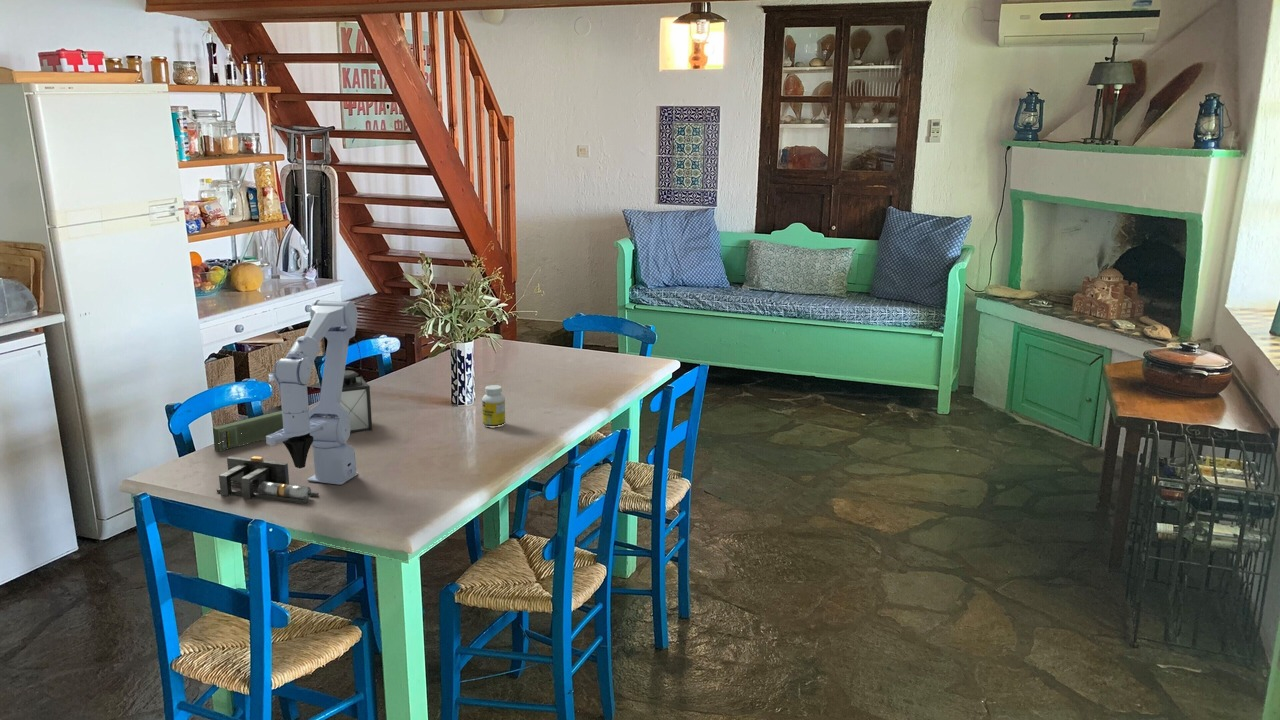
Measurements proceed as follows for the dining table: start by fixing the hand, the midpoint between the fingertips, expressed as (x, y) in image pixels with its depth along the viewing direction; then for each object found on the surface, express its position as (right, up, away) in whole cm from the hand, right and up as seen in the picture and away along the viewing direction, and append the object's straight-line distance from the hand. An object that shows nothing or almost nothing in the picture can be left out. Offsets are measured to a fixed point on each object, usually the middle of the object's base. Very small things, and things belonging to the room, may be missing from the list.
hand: (299, 466), depth 216 cm
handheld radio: (-27, +2, +44) cm, 52 cm away
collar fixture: (-11, -7, +7) cm, 14 cm away
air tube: (-5, -7, +5) cm, 10 cm away
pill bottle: (+36, +5, +58) cm, 69 cm away
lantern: (-6, +5, +55) cm, 55 cm away
